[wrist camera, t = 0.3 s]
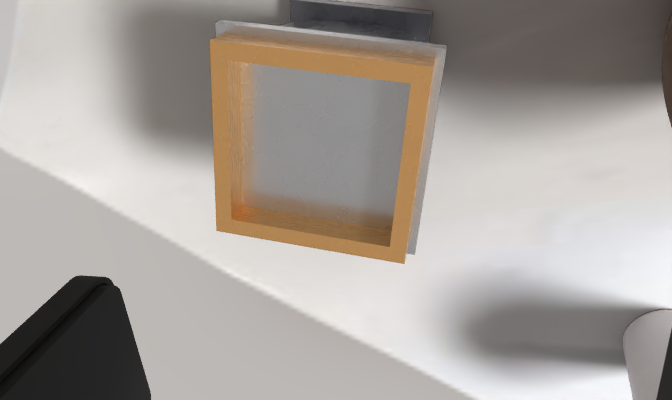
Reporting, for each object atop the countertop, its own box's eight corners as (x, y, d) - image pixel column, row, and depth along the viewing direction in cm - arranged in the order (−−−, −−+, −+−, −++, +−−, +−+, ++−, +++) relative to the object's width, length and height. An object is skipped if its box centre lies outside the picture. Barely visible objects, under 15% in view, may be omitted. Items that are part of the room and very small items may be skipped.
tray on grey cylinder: (276, -6, 43) (200, 29, 31) (454, 13, 41) (444, 58, 29) (274, 161, 49) (209, 242, 37) (427, 184, 47) (410, 278, 35)
